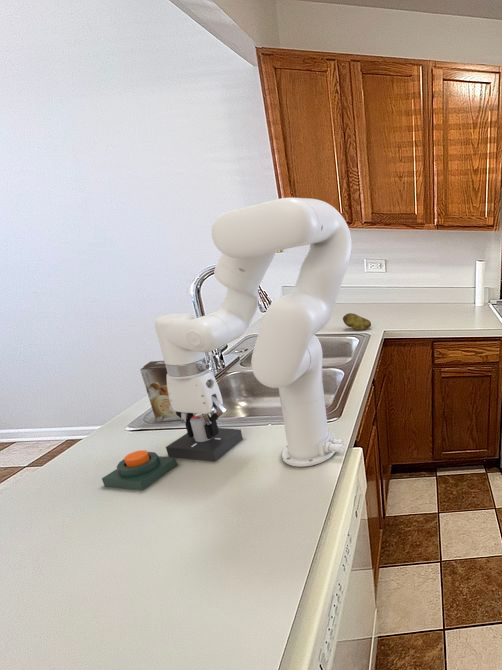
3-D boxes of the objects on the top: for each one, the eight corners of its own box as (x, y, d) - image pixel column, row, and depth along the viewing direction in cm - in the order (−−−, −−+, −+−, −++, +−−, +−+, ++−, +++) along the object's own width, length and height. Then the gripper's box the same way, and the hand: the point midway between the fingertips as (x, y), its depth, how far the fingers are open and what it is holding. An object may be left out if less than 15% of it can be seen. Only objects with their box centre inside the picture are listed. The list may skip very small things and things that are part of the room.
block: (177, 465, 93) (173, 450, 91) (143, 490, 84) (138, 475, 83) (142, 462, 93) (137, 447, 92) (104, 487, 85) (98, 471, 83)
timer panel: (243, 439, 104) (240, 428, 102) (215, 462, 94) (212, 450, 93) (200, 435, 105) (197, 425, 103) (168, 457, 95) (165, 446, 94)
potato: (366, 332, 195) (364, 316, 192) (341, 330, 196) (340, 314, 193) (372, 327, 202) (371, 312, 199) (349, 326, 204) (347, 310, 201)
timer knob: (218, 434, 100) (213, 413, 98) (206, 442, 96) (201, 421, 94) (203, 432, 100) (198, 412, 98) (191, 441, 97) (185, 420, 95)
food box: (200, 408, 118) (188, 358, 112) (192, 419, 112) (179, 366, 107) (164, 411, 116) (150, 360, 110) (154, 422, 110) (138, 369, 104)
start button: (154, 457, 89) (152, 451, 88) (138, 468, 85) (136, 461, 85) (138, 456, 89) (135, 449, 89) (121, 466, 86) (118, 460, 85)
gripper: (232, 363, 94) (245, 430, 101) (166, 359, 96) (184, 425, 102) (209, 375, 87) (225, 446, 94) (139, 370, 89) (159, 441, 95)
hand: (204, 434), depth 98 cm, fingers closed on timer knob, 4 cm apart
